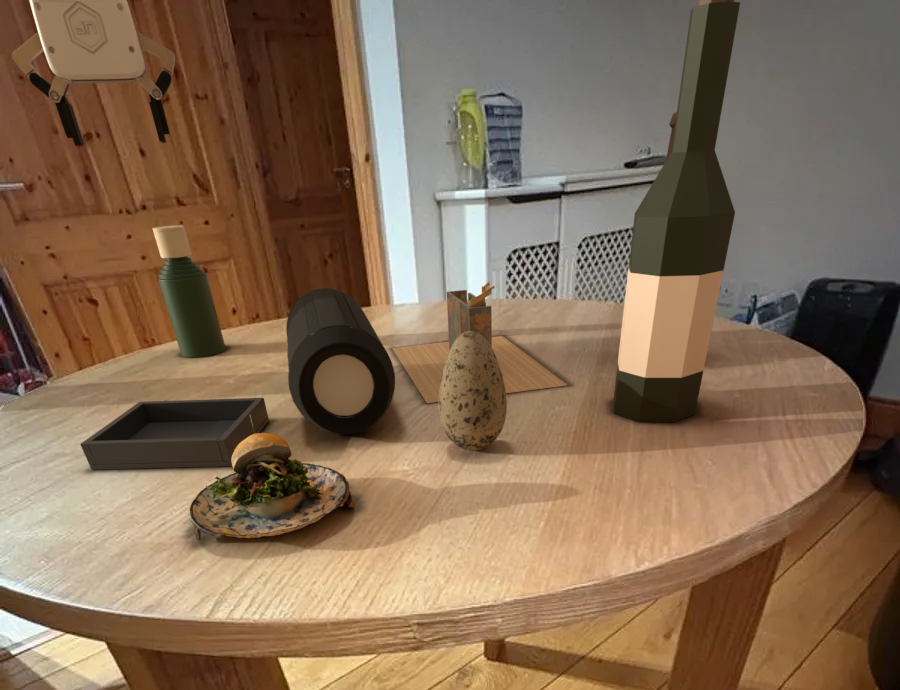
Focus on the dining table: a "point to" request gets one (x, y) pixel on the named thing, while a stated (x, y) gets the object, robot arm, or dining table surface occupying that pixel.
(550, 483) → the dining table surface
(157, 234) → the cap
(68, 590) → the dining table surface
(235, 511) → the burger
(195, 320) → the bottle
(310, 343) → the portable speaker
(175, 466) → the tray
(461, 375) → the decorative egg
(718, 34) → the wine bottle
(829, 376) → the dining table surface
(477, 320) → the architectural model on board
